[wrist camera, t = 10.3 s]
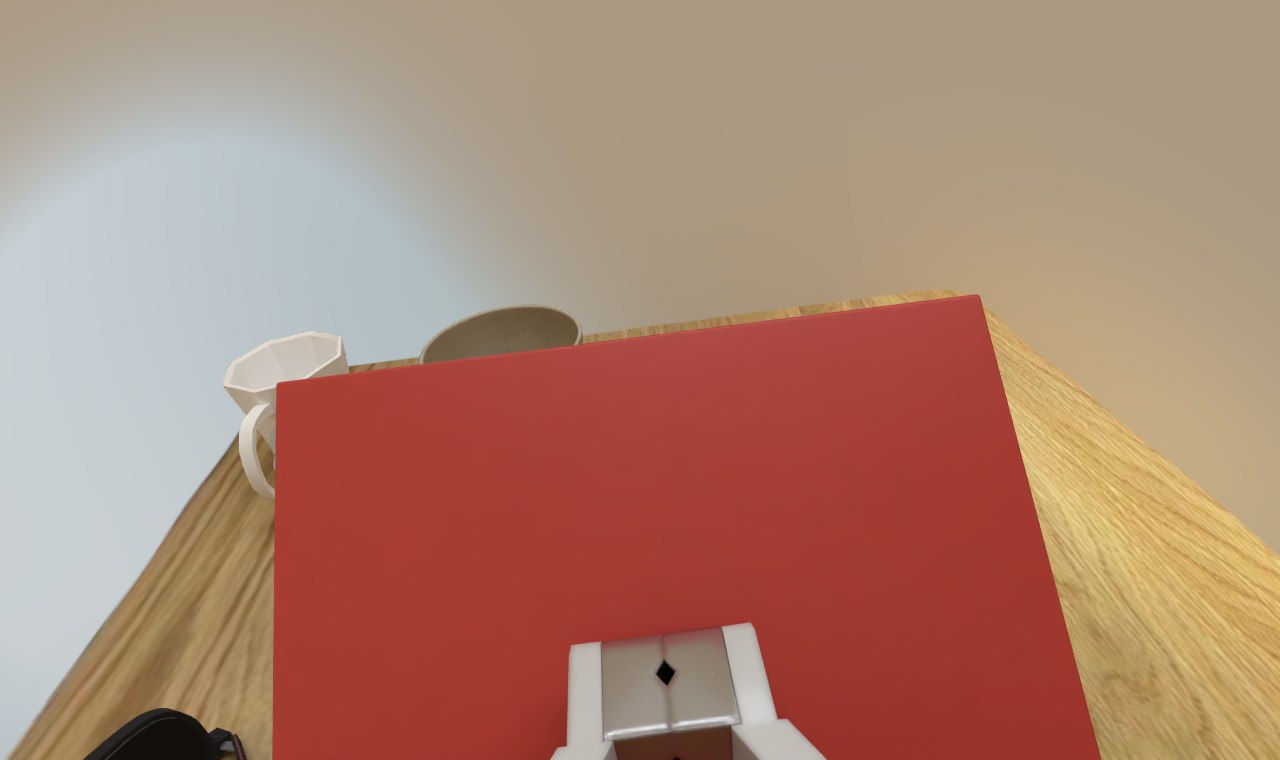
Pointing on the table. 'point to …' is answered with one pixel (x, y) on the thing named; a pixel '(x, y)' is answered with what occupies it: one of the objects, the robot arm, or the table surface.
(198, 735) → the sunglasses
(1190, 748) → the table surface
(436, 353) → the flower pot
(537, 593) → the lunchbox lid
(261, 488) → the cup
